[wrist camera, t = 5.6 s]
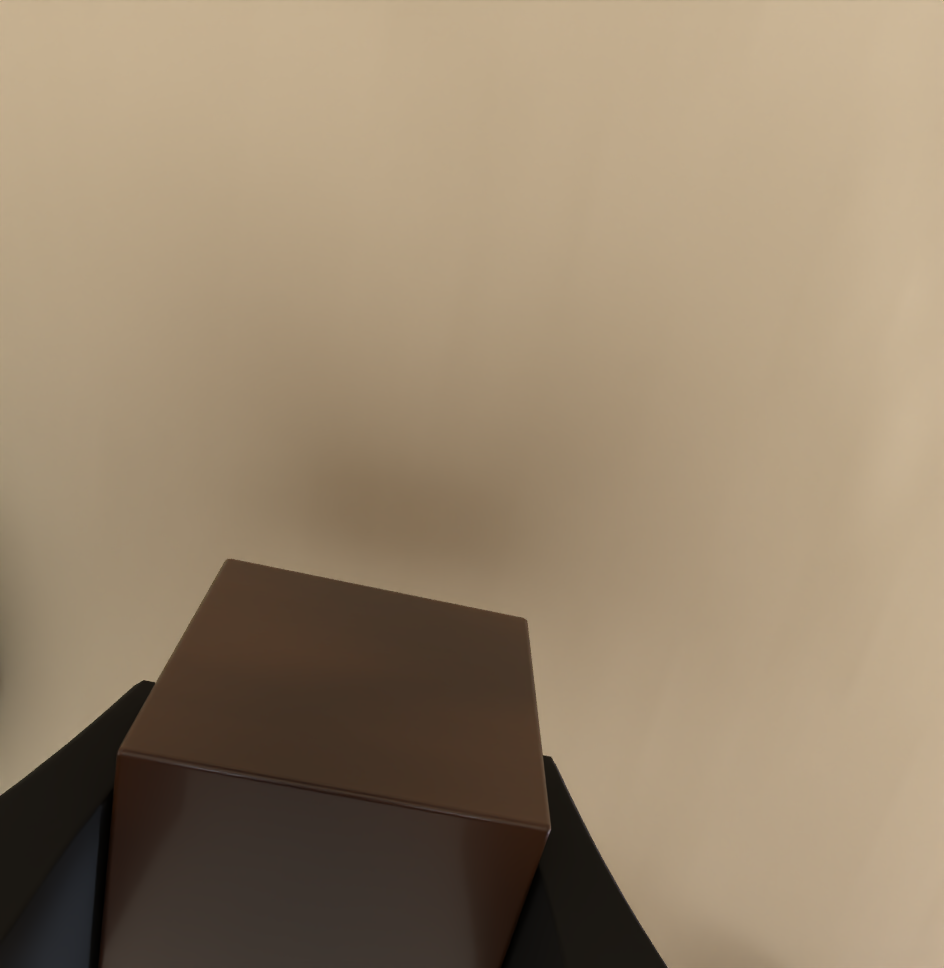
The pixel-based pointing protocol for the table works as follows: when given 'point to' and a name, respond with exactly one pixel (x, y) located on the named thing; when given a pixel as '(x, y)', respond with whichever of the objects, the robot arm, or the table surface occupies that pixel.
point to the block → (328, 784)
